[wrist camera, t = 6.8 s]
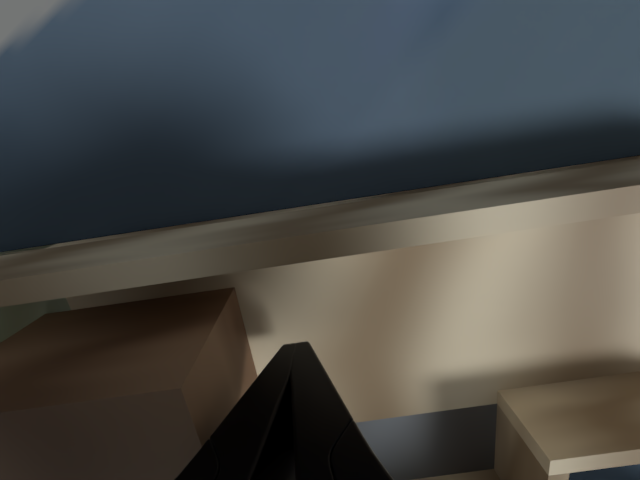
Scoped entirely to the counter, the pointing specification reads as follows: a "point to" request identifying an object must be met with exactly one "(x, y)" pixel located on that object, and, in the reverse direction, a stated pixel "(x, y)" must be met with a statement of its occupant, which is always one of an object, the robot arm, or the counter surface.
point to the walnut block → (121, 387)
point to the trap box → (416, 311)
